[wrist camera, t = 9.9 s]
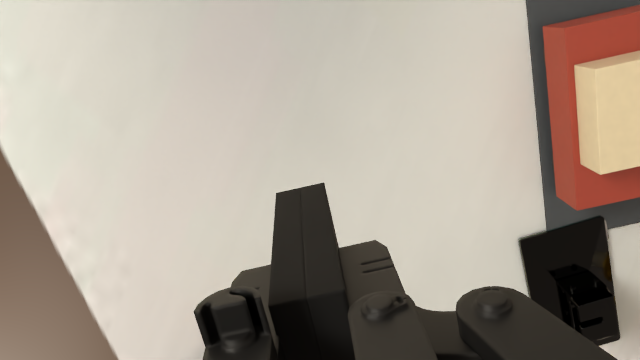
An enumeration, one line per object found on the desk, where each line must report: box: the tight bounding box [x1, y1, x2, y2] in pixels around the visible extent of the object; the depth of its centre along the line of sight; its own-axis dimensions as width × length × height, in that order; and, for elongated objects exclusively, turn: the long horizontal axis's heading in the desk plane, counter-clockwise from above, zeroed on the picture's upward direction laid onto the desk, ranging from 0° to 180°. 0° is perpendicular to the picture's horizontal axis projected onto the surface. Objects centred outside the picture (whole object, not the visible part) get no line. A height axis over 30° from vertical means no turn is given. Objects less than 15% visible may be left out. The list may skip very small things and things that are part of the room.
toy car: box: [543, 5, 640, 211], centre depth 38 cm, size 13×7×8 cm
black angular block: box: [519, 215, 620, 346], centre depth 44 cm, size 12×7×5 cm, turn 17°
